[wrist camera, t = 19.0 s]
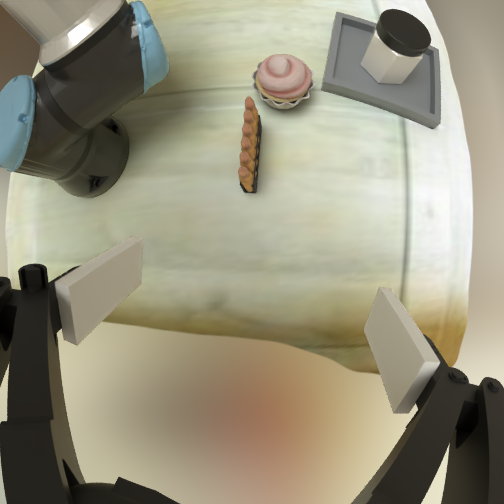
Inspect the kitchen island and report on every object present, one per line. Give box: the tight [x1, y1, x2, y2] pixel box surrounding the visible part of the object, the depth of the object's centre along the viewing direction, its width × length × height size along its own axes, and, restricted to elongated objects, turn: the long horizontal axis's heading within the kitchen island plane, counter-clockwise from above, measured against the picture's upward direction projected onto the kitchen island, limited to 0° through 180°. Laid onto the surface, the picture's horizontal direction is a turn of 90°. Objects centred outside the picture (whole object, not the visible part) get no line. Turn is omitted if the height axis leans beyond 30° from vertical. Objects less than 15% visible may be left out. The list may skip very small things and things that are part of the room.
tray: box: [321, 12, 441, 129], centre depth 39 cm, size 20×17×3 cm
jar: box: [360, 9, 431, 84], centre depth 33 cm, size 9×8×12 cm
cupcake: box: [252, 54, 315, 110], centre depth 37 cm, size 9×9×10 cm
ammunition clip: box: [238, 96, 262, 193], centre depth 37 cm, size 11×2×12 cm, turn 175°
